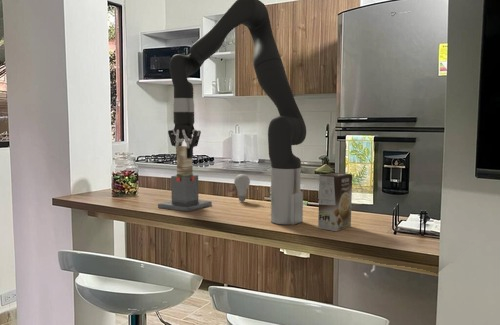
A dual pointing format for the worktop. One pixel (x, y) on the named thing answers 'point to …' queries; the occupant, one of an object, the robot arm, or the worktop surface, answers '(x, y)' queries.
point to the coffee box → (335, 201)
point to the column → (183, 162)
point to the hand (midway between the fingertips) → (184, 157)
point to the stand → (184, 195)
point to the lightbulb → (242, 185)
